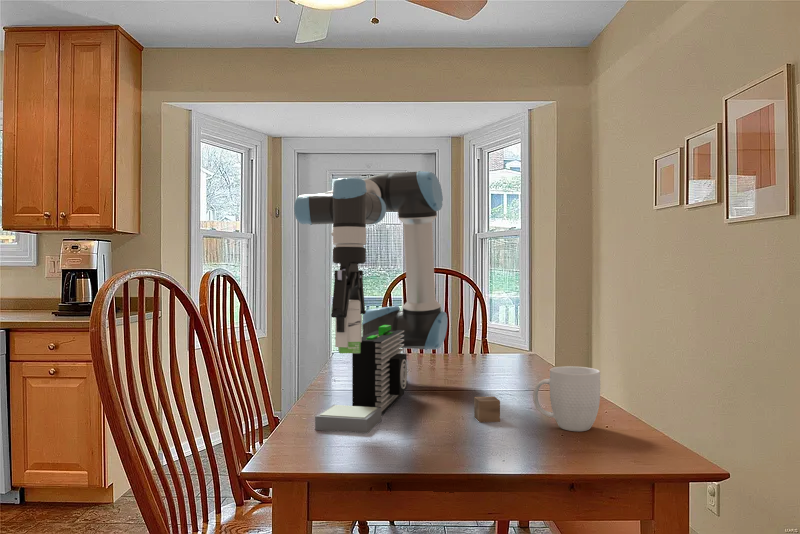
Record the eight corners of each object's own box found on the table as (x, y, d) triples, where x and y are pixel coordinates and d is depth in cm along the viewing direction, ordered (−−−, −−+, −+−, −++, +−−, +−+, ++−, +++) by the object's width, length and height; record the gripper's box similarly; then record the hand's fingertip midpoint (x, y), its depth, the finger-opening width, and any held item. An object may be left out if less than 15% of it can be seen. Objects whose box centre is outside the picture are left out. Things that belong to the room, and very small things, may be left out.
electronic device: (393, 417, 158) (393, 334, 157) (349, 415, 160) (349, 333, 160) (414, 394, 185) (414, 323, 185) (376, 392, 187) (377, 322, 187)
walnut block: (474, 417, 157) (474, 396, 157) (494, 417, 158) (494, 396, 158) (479, 422, 152) (479, 401, 152) (500, 422, 153) (500, 400, 153)
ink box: (361, 353, 145) (361, 300, 145) (338, 354, 145) (338, 300, 145) (358, 349, 154) (359, 298, 154) (337, 349, 153) (337, 299, 153)
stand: (333, 417, 157) (333, 404, 157) (381, 420, 154) (381, 406, 154) (315, 429, 145) (315, 415, 145) (366, 433, 142) (366, 418, 142)
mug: (527, 429, 146) (527, 370, 146) (538, 418, 156) (538, 363, 156) (596, 436, 140) (596, 375, 140) (603, 424, 150) (603, 368, 150)
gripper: (348, 247, 161) (348, 338, 161) (316, 244, 139) (315, 349, 139) (378, 247, 159) (377, 339, 159) (349, 244, 138) (349, 350, 138)
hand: (348, 344), depth 149 cm, fingers closed on ink box, 9 cm apart
